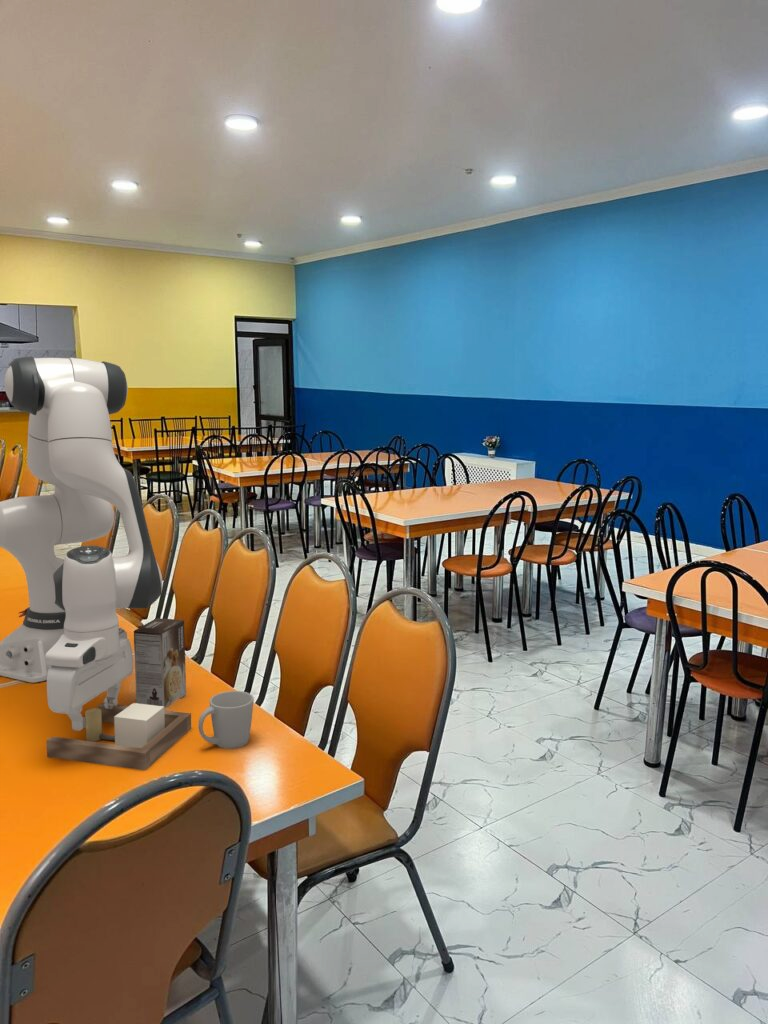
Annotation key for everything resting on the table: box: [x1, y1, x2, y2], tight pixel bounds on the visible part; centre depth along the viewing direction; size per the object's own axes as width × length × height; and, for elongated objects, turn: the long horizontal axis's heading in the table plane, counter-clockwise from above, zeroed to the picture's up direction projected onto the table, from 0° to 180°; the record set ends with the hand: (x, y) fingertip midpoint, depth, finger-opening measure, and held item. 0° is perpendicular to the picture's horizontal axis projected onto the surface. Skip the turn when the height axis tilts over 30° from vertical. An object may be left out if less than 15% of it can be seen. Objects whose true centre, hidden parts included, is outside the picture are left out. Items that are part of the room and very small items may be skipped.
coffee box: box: [133, 617, 187, 710], centre depth 147 cm, size 9×6×16 cm
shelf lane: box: [45, 702, 192, 771], centre depth 129 cm, size 18×16×4 cm
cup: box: [198, 690, 255, 750], centre depth 129 cm, size 8×10×8 cm
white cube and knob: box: [84, 702, 165, 748], centre depth 129 cm, size 13×6×6 cm, turn 78°
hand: (95, 717), depth 130 cm, fingers open, 8 cm apart
